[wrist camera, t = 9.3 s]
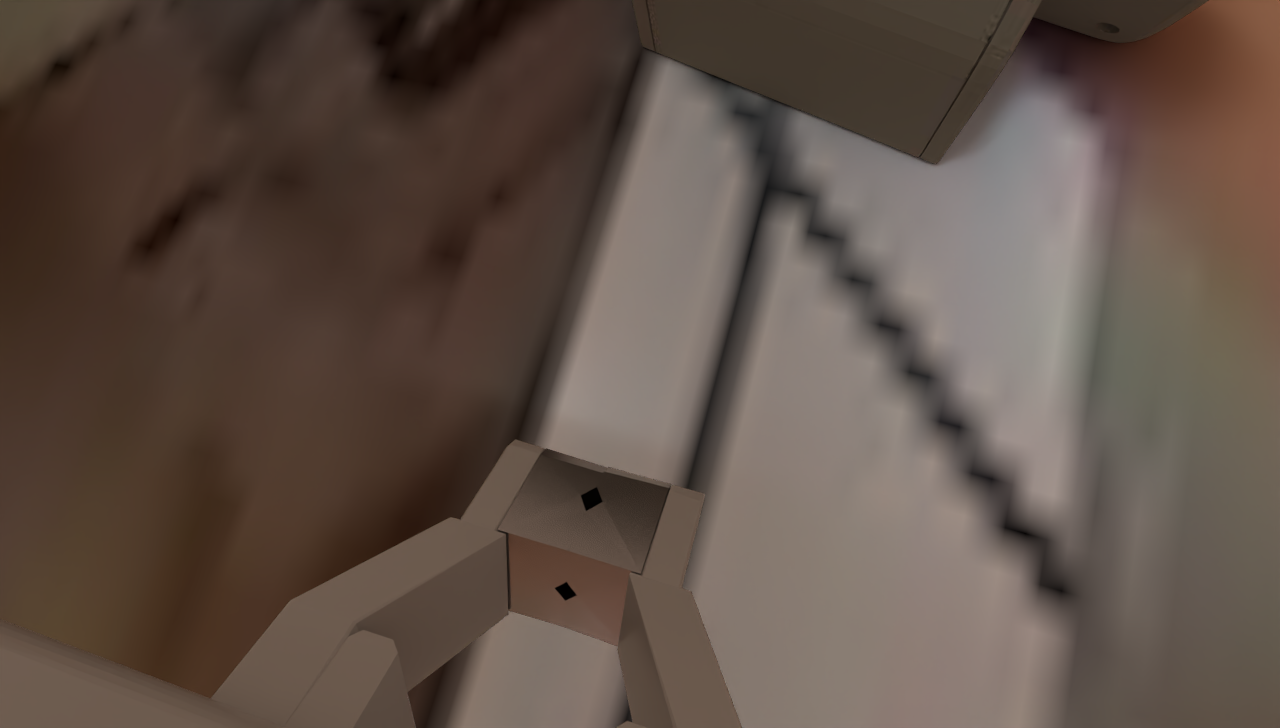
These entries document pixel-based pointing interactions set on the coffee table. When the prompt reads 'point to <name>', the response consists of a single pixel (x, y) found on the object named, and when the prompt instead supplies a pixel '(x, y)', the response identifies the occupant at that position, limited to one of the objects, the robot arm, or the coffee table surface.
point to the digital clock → (880, 53)
